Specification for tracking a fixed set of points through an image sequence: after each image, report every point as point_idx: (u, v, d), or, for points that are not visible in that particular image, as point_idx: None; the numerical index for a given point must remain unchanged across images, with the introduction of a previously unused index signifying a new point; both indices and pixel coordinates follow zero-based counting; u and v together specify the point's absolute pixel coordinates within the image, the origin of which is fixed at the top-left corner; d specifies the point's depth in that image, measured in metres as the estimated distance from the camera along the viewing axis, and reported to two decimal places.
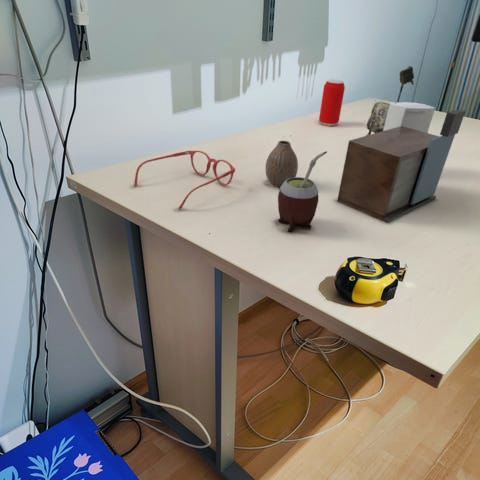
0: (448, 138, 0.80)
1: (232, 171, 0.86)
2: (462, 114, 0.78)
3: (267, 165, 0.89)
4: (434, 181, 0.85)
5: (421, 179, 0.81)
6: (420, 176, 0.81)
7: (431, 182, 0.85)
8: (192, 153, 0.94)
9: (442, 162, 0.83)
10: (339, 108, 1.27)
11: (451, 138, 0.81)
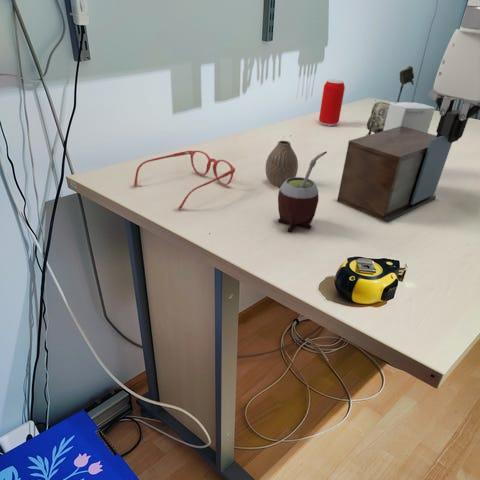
0: None
1: (232, 171, 0.86)
2: None
3: (267, 165, 0.89)
4: (434, 181, 0.85)
5: (421, 179, 0.81)
6: (420, 176, 0.81)
7: (431, 182, 0.85)
8: (192, 153, 0.94)
9: (442, 162, 0.83)
10: (339, 108, 1.27)
11: None
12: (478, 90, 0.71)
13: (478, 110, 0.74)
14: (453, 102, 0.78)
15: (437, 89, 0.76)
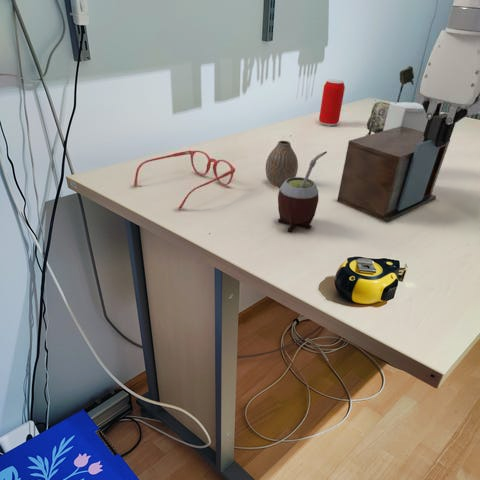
0: None
1: (232, 171, 0.86)
2: None
3: (267, 165, 0.89)
4: (422, 187, 0.83)
5: (408, 185, 0.78)
6: (406, 182, 0.78)
7: (419, 188, 0.82)
8: (192, 153, 0.94)
9: (430, 167, 0.81)
10: (339, 108, 1.27)
11: None
12: (465, 93, 0.69)
13: (465, 114, 0.71)
14: (440, 105, 0.75)
15: (423, 92, 0.74)
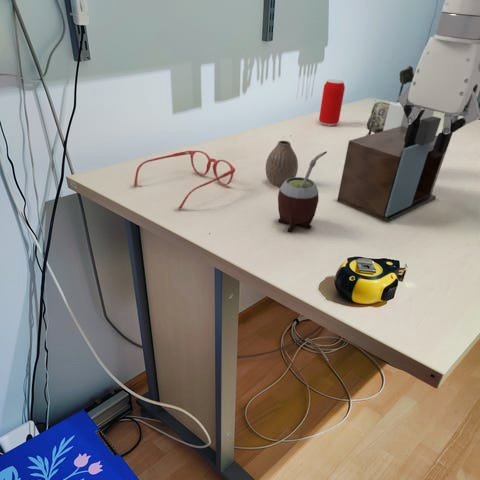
0: (423, 147, 0.75)
1: (232, 171, 0.86)
2: (438, 121, 0.73)
3: (267, 165, 0.89)
4: (410, 192, 0.81)
5: (395, 190, 0.76)
6: (394, 187, 0.76)
7: (407, 193, 0.80)
8: (192, 153, 0.94)
9: (418, 172, 0.79)
10: (339, 108, 1.27)
11: (427, 146, 0.76)
12: (454, 101, 0.67)
13: (463, 124, 0.69)
14: (423, 112, 0.74)
15: (411, 99, 0.72)
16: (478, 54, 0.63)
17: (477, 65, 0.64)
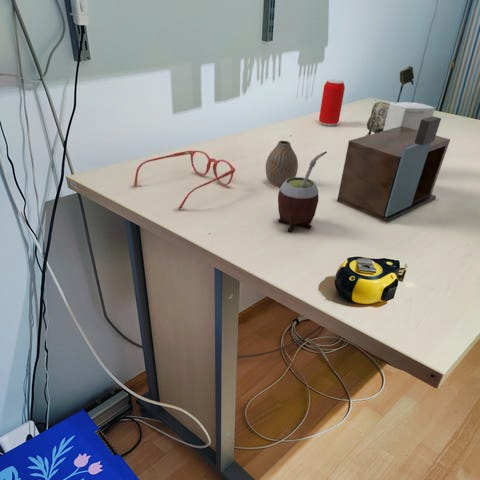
0: (423, 147, 0.75)
1: (232, 171, 0.86)
2: (438, 121, 0.73)
3: (267, 165, 0.89)
4: (410, 192, 0.81)
5: (395, 190, 0.76)
6: (394, 187, 0.76)
7: (407, 193, 0.80)
8: (192, 153, 0.94)
9: (418, 172, 0.79)
10: (339, 108, 1.27)
11: (427, 146, 0.76)
12: None
13: None
14: None
15: None
16: None
17: None
